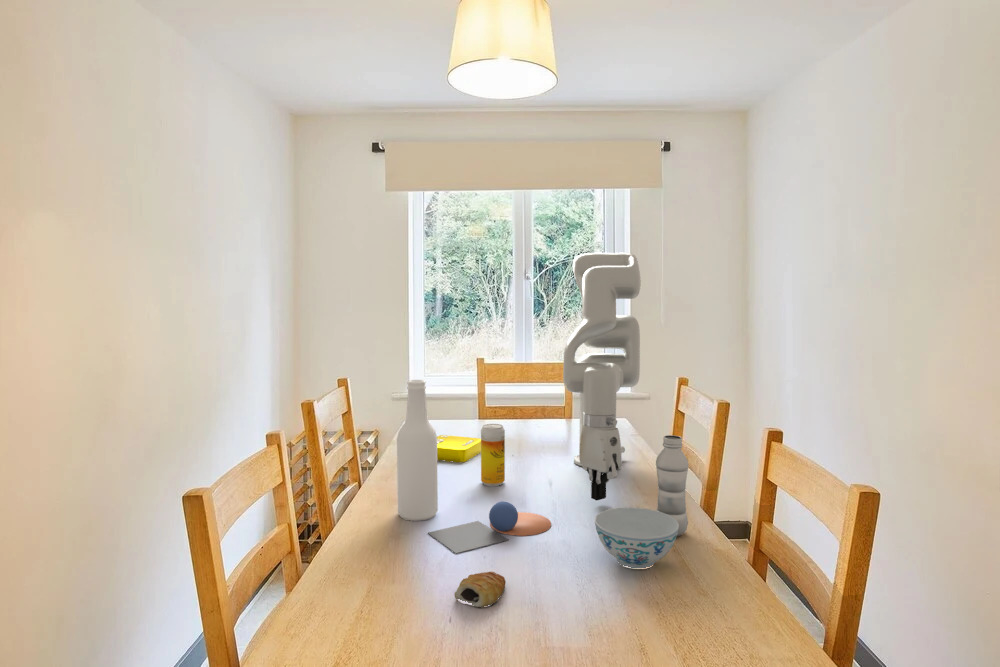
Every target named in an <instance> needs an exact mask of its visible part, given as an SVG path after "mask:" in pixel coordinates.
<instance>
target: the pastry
mask: <svg viewBox="0 0 1000 667" xmlns="http://www.w3.org/2000/svg"><path fill="white" fill-rule="evenodd" d="M504 589H506V578H505V577H504V576H503V575H501V574H500V573H497V572H495V571H486V572H485V571H484V572H479V573H474V574H469V575H468V576H467V577H465V578H463V579H462V580H461V581H460V583H459V585H458V587H457V589H456V591H455V592H454V599H456V600H457V599H460V600H462V601H465V602H466V601H467V602H468V603H472V605H474V606H476V607H475V608H478V607H483V608H485V607H484V606H488V605H491V604H493V603H494V604H496V602H498V601H499V600H498V598H499V597H500V596H501V597H502V595H503V594H502V593H504V592H503V591H505V590H504ZM501 597H500V598H501ZM497 600H498V601H497ZM494 604H493V605H494ZM474 606H473V607H474Z"/></svg>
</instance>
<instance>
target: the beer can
mask: <svg viewBox="0 0 1000 667" xmlns="http://www.w3.org/2000/svg"><path fill="white" fill-rule="evenodd" d="M505 433H506V431H505V428H504V425H503V424H500V423H487V424H483V425H482V427H481V430H480V439H481V453H480V481H481V482H482V484H483V485H484V486H487V487H499V485H500V486H501V484H502V485H503V484H504V482H505V481H506V480H505V479H506V478H505V477H506V476H505V475H506V473H505V472H506V470H505V469H506V468H505V467H506V465H505V462H506V458H505V456H506V454H505V453H506V451H505V450H506V444H505V443H506V441H505V440H506V439H505V437H506V436H505Z"/></svg>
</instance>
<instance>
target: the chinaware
mask: <svg viewBox="0 0 1000 667" xmlns="http://www.w3.org/2000/svg"><path fill="white" fill-rule="evenodd" d="M594 524H595V530H596V533H597V535H598V538H599V541H600V542H601V544H602V545H603V547H604V548H605V550H606V551H607V552H608V553H609V554H610V555H611V556H612V557H613V558H615V559H616V562H617V561H618V562H619V563H620V564H621V565H624V566H628V567H631V568H646V567H650V566H652V565H653V564H654V565H655V563H656V562H658V561H660V560H661V559H663V558H664V557H665V556H666V555H667V554H668V553H669V552H670V550H671V549H672V547H673V546H674V544H675V542H676V539H677V537H678V536H677V533H678V529H679V524H678V522H677V521H676V520H675V519H674V518H672V517H671V516H669V515H667V514H664V513H662V512H658V511H656V510H655V509H650V508H649V509H648V508H641V507H629V506H626V507H614V508H609V509H606V510H603V511H600V512H599V513H598V514H596V515H595V518H594ZM618 562H617V563H618ZM621 565H620V566H621Z"/></svg>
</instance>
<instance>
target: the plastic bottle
mask: <svg viewBox="0 0 1000 667" xmlns="http://www.w3.org/2000/svg"><path fill="white" fill-rule="evenodd" d="M662 440H663V443H662V446H663V449H662V450H661V451H660V452H659V454H658V455H657V456H656V460H655V466H656V474H657V487H658V489H657V490H658V493H657V502H656V503H657V504H656V510H655V511H658V512H662V513H664V514H667V515H669V516H671V517H672V518H674V519H675V520H676V521H677V522H678V524H679V529H678V533H677V537H678V536H682V534H683V535H684V534H685V533H686V531H687V530H688V525H689V520H688V518H689V517H688V513H687V507H686V504H687V503H686V490H687V489H686V487H687V485H686V484H687V478H688V472H689V460H688V458H687V457H686V455H685V453H684V452H683V450H682V448H683V437H682V436H679V435H674V434H672V435H671V434H667V435H663V439H662Z"/></svg>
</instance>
